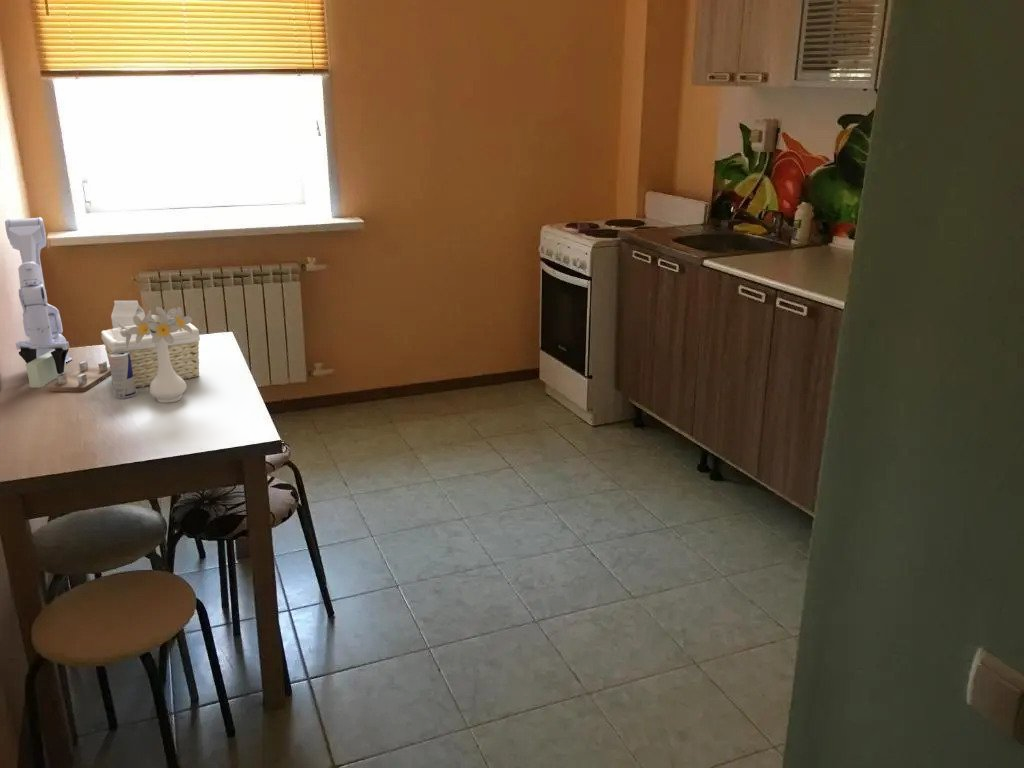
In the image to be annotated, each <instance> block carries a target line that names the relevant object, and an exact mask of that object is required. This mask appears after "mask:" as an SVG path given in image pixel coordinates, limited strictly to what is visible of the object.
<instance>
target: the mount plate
mask: <svg viewBox="0 0 1024 768" xmlns="http://www.w3.org/2000/svg"><path fill="white" fill-rule="evenodd" d="M107 368H108V369H107V370H106V371H104V372H100V371H99V366H88V370H86V371H84V372H80V368H79V369H77V370H75V371H74V372H72V373H70V374H68V375H66V377H67V383H65V384H63V385H59V384H58V381H57V382H55V383H54V384H52V385H51V386H49V391H50V392H83V391H85V392H87V391H88V390H90V389H91V388H93V387H94V386H96V385H97V384H99V383H100V382H99V381H101V380H102V381H103V379H104V378H105V379H107V378H108V377H109V375H110V374H111V370H110V366H107ZM81 374H86V377H87V383H85V384H84V385H79V383H78V378H77V376H79V375H81ZM107 376H108V377H107ZM110 376H111V375H110ZM106 377H107V378H106ZM105 379H104V380H105ZM102 381H101V382H102ZM98 382H99V383H98ZM96 383H97V384H96ZM95 384H96V385H95ZM92 386H93V387H92ZM90 387H91V388H90ZM89 388H90V389H89ZM86 390H87V391H86Z"/></svg>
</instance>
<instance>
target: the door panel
mask: <svg viewBox="0 0 1024 768" xmlns="http://www.w3.org/2000/svg"><path fill="white" fill-rule="evenodd" d="M52 351H54V350H52ZM52 351H50V352H48V353H46V354H44V355H42V356H40V357H38V358H36V359H35V360H33V361H31V362H29V363H25V367H26V372H27V377H28V382H29V387H30V388H42V387H44V386H46V385H47V384H49V383H51V382H53V381H54V380H56V379H57V376H58V375H60V374H58V373H57V370H56V364H55V361H54V359H53V357H52V355H51V352H52ZM66 371H67V372H68V368H67V363H66V362H65V364H64V372H63V373H64V374H66V373H67V372H66ZM65 372H66V373H65ZM63 373H61V374H63ZM55 378H56V379H55ZM53 379H54V380H53ZM52 380H53V381H52ZM50 381H51V382H50ZM48 382H49V383H48ZM45 384H46V385H45ZM43 385H44V386H43Z"/></svg>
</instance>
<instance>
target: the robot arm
mask: <svg viewBox="0 0 1024 768" xmlns="http://www.w3.org/2000/svg"><path fill="white" fill-rule="evenodd" d="M4 224H5V225H4V227H5V232H6V236H7V239H8V240H9V244H10V245H11V248H12V249H14V250H17V251H19V254H20V260H21V264H20V265H19V267H18V279H19V280H18V281H19V286H20V287H19V288H18V298H19V302H20V306H21V307H22V311H23V312H22V318H23V319H22V323H23V329H24V334H25V336H26V337H27V338H29V340H23V341H22V340H20V341H17V342H15V345H16V350H19V351H18V355H19V356H20V357H21V358H22V359H23V361H24V362H25V364H27V363H29V362H31V361H33V360H35V359H36V358H38V357H40V356H42V355H44V354H46V353H48V352H50V351H52V350H54V351H52V352H51V355H52V357H53V359H54V361H55V364H56V370H57V373H58V374H61V373H63V372H64V364H65V362H67V363H68V361H69V362H70V361H72V360H73V358H72V357H70V353H69V349H70V348H71V347H70V342H69V341H67V339H66V338H65V336H63V330H64V329H63V324H62V319H61V314H60V311H59V309H58V308H57V307H56V306H54V305H51V304H49V303H48V297H47V296H48V295H47V290H46V287H45V280H44V279H45V278H44V274H43V268H42V263H41V250H42V249H43V248H45V247H47V242H48V241H47V233H46V228H45V222H44V219H43V218H42V217H41V216H39V217H32V218H31V217H29V218H16V219H15V218H14V219H13V218H12V219H11V218H10V219H9V218H7V219H6V220H5V221H4Z"/></svg>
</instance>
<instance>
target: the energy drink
mask: <svg viewBox="0 0 1024 768" xmlns="http://www.w3.org/2000/svg"><path fill="white" fill-rule="evenodd" d="M108 364H110V365H109V367H110V370H111V375H110V376H111V382H112V387H113V393H114V397H115V398H116V399H120V400H126V399H130V398H133V397H135V396H136V394H137V391H136V389H137V388H135V383H134V377H133V371H132V365H131V358H130V355H129V352H126V351H120V352H114V353H111V354H109V360H108Z"/></svg>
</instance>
